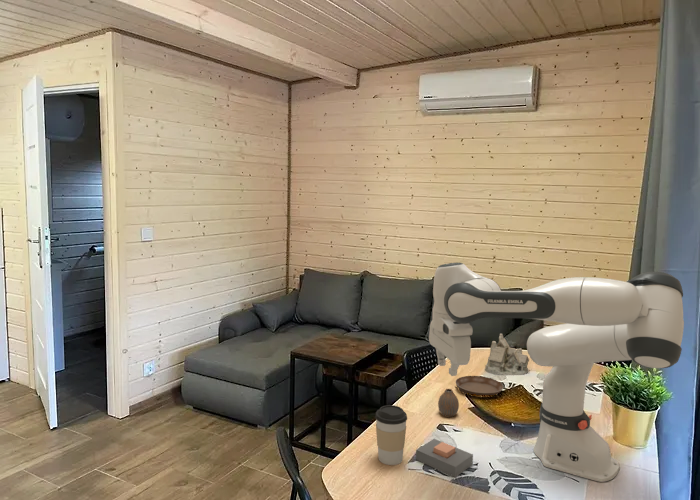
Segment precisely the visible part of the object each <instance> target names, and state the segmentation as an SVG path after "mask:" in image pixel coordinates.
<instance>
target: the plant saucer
mask: <svg viewBox="0 0 700 500" xmlns="http://www.w3.org/2000/svg"><path fill="white" fill-rule="evenodd" d="M455 385H456V387H457V388H458V389H459V391H460V392H461V393H462V394H465V395H466V394H467V393H469V394H476V395H495V394H497V395H499V394H500V393H501V392H502V390H503V389H504V385H503V383H501V382H500V381H498V380H496V379H493V378H491V377H487V376H482V375H465V376H461V377H458V378H457V379H456V380H455ZM498 393H499V394H498Z"/></svg>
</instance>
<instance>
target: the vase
mask: <svg viewBox="0 0 700 500" xmlns="http://www.w3.org/2000/svg"><path fill="white" fill-rule="evenodd" d="M437 406H438V410H439V412H440V414H441V415H442V416H444V417H446V418H452V417H454V416H455V415H456V414H458V411H459V408H460V407H459V406H460V403H459V399H458V397H457V396H456V394H455V392H454V390H453V389H451V388H446V389H445V390H444V391H443V393H441V395H440V396H439V398H438V405H437Z"/></svg>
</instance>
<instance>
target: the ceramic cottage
mask: <svg viewBox="0 0 700 500" xmlns="http://www.w3.org/2000/svg"><path fill="white" fill-rule="evenodd" d="M489 349H490V350H489V351H490V352H489V356H488V358H487V362H486V364H485V368H484V371H485V372H486V373H488V374H491V375H497V376H523V375H524V376H525V375H526V374H528V373H529V368H528V365H529V362H530V357H529V355H527V354H524V353H523V349H522V348H515V347H510V345H509V343H508V342H507V340H506V338H504V335H503V333H499V337H498V343H497V342H496V341H495V340H492V342H491V345H490V348H489Z"/></svg>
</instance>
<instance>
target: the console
mask: <svg viewBox="0 0 700 500" xmlns="http://www.w3.org/2000/svg"><path fill="white" fill-rule="evenodd" d="M441 442H442V441H441V440H438V439H435V438H433V439H431V440H430V441H428V442H426V443H425V444H422V446H420V447H418V448H416V450H415V461H418V462H420V463H422V464H423V465H424V464H425V465H426V466H429V467H431V468H433V469H435V470H438V471H441V472H442V473H444V474H447V475H449V476H451V477H453V478H457V477H458V476H459V475H461V474H462V473H464V472H465V471H466V470H467V469H469V468H471V466H473V465H474V463H473V462H474V454H473V453H470V452H468V451H467V450H462V449H461V448H457V447H456V446H454V447H455V454H453V455H452V456H450V457H449V458H444V457H442V456H440V455H437V454H435V453H433V449H434V447H435V446H437V445H438V444H440V443H441Z"/></svg>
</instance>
